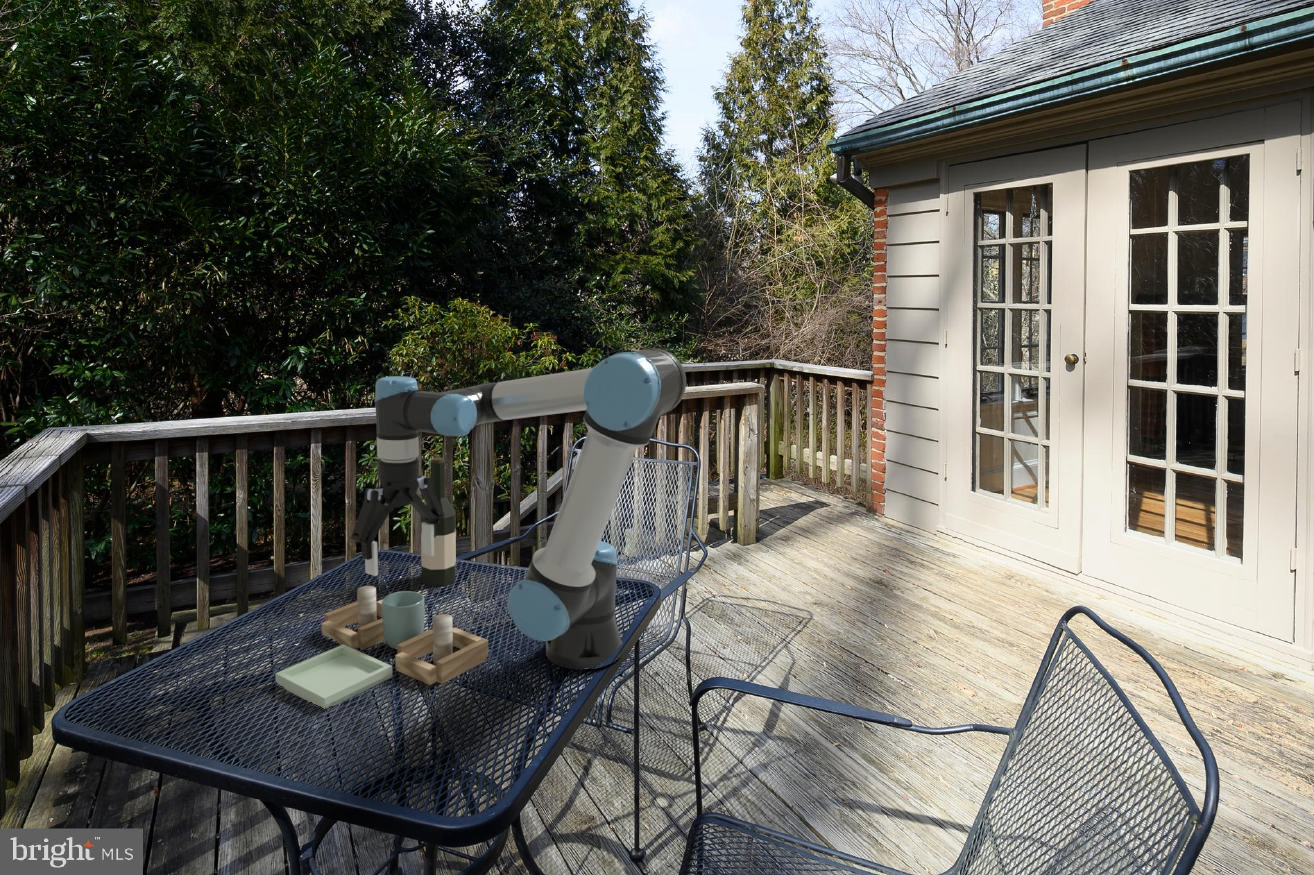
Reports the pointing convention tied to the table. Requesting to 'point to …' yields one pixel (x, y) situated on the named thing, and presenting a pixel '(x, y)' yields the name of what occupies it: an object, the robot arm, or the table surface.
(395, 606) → the cup
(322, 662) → the tray
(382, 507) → the robot arm
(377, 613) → the rack
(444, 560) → the wine bottle
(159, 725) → the table surface
